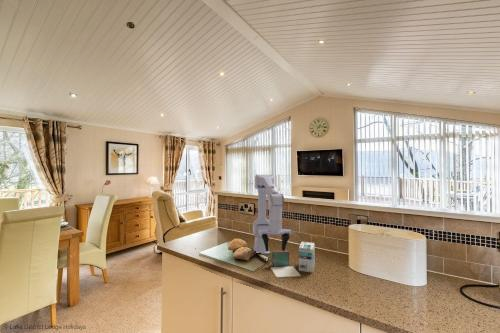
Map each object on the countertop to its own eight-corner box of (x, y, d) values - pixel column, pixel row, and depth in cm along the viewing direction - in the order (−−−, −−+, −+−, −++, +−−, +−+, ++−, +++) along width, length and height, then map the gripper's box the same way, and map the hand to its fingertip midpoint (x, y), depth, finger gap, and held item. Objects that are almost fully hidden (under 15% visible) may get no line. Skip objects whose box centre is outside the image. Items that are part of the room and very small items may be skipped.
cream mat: (270, 268, 114) (270, 267, 114) (292, 266, 116) (292, 266, 116) (276, 277, 104) (276, 276, 104) (300, 276, 106) (300, 275, 106)
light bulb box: (313, 273, 109) (313, 249, 109) (298, 270, 111) (298, 247, 111) (314, 264, 119) (315, 242, 119) (301, 262, 121) (301, 241, 121)
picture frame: (271, 264, 118) (271, 250, 118) (287, 264, 119) (287, 249, 119) (273, 267, 115) (273, 252, 115) (289, 266, 116) (289, 251, 116)
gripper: (261, 222, 103) (261, 254, 103) (293, 222, 106) (293, 253, 106) (258, 219, 110) (258, 249, 110) (288, 218, 113) (288, 247, 113)
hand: (275, 250), depth 109 cm, fingers open, 7 cm apart
